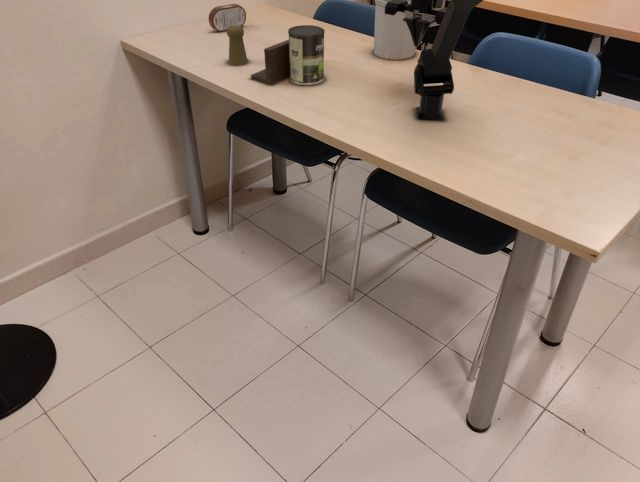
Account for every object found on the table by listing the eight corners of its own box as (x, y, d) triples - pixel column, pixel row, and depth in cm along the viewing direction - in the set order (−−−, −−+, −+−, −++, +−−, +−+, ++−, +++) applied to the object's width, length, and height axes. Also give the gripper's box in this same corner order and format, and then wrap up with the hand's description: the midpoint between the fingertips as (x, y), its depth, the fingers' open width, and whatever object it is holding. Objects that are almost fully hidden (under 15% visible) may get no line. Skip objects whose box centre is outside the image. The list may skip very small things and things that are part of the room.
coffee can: (327, 74, 153) (328, 26, 144) (318, 87, 145) (319, 36, 136) (295, 71, 155) (294, 23, 146) (284, 83, 147) (283, 33, 138)
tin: (243, 24, 194) (241, 1, 188) (248, 26, 192) (246, 3, 186) (209, 32, 186) (206, 7, 181) (213, 34, 184) (210, 9, 179)
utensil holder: (368, 58, 164) (371, 0, 154) (375, 44, 176) (379, -10, 165) (413, 62, 162) (420, 4, 151) (417, 48, 173) (424, -8, 162)
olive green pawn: (224, 63, 160) (220, 27, 153) (236, 57, 164) (232, 22, 157) (240, 66, 158) (237, 30, 151) (251, 60, 162) (248, 25, 155)
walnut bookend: (313, 66, 159) (313, 33, 152) (271, 85, 146) (269, 50, 140) (293, 60, 162) (292, 28, 156) (251, 78, 150) (248, 44, 143)
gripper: (473, -19, 125) (462, 45, 135) (407, -29, 134) (401, 32, 143) (454, -11, 118) (443, 56, 128) (385, -22, 127) (380, 42, 136)
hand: (416, 46), depth 134 cm, fingers closed
